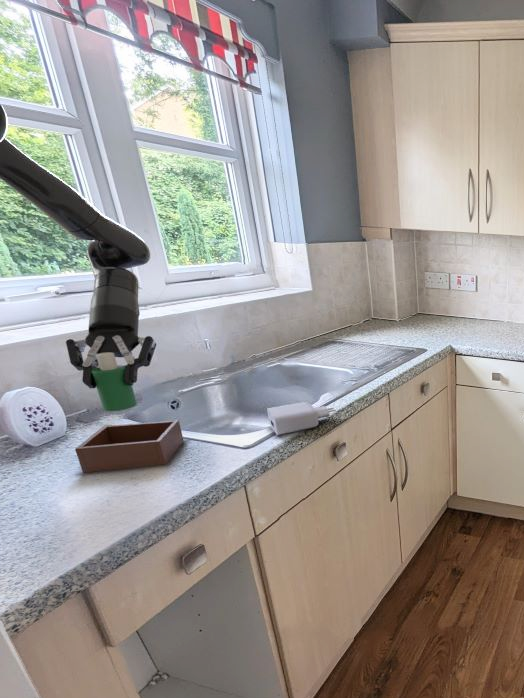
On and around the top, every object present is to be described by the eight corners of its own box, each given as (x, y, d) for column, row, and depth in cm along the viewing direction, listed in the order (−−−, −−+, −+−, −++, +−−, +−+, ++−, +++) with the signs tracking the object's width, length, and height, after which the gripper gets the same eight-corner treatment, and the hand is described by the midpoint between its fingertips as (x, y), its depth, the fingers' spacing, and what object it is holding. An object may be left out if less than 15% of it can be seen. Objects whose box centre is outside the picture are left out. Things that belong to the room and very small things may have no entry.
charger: (341, 423, 118) (277, 436, 109) (330, 412, 125) (269, 424, 116) (339, 406, 117) (274, 418, 107) (328, 396, 123) (266, 407, 114)
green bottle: (98, 412, 89) (80, 358, 85) (110, 402, 93) (94, 351, 90) (130, 409, 91) (115, 356, 87) (141, 400, 95) (127, 350, 91)
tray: (82, 472, 90) (74, 449, 88) (110, 447, 100) (103, 425, 98) (165, 464, 94) (159, 441, 93) (183, 441, 105) (178, 420, 103)
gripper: (59, 303, 89) (50, 379, 83) (150, 302, 94) (148, 373, 88) (79, 325, 95) (72, 397, 89) (163, 322, 101) (162, 390, 95)
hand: (110, 384), depth 89 cm, fingers closed on green bottle, 5 cm apart
